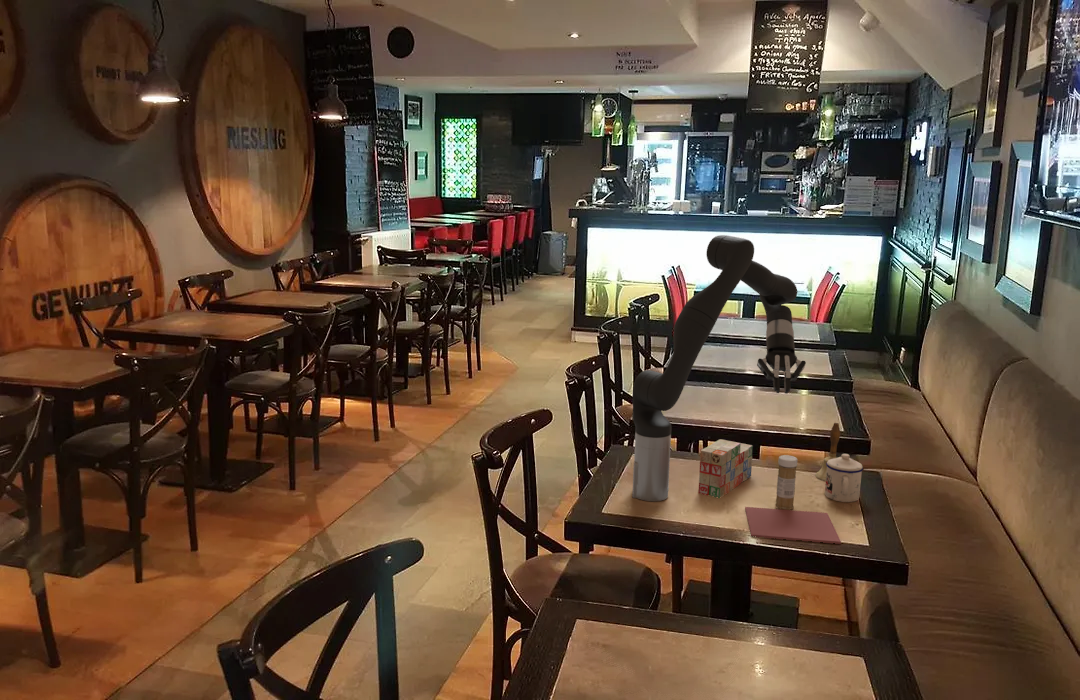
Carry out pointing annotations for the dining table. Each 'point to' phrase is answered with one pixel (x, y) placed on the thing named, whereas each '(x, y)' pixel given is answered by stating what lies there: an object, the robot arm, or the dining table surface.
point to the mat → (791, 525)
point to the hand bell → (834, 440)
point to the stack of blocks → (724, 467)
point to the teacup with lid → (843, 479)
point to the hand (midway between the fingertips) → (782, 391)
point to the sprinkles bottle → (786, 482)
